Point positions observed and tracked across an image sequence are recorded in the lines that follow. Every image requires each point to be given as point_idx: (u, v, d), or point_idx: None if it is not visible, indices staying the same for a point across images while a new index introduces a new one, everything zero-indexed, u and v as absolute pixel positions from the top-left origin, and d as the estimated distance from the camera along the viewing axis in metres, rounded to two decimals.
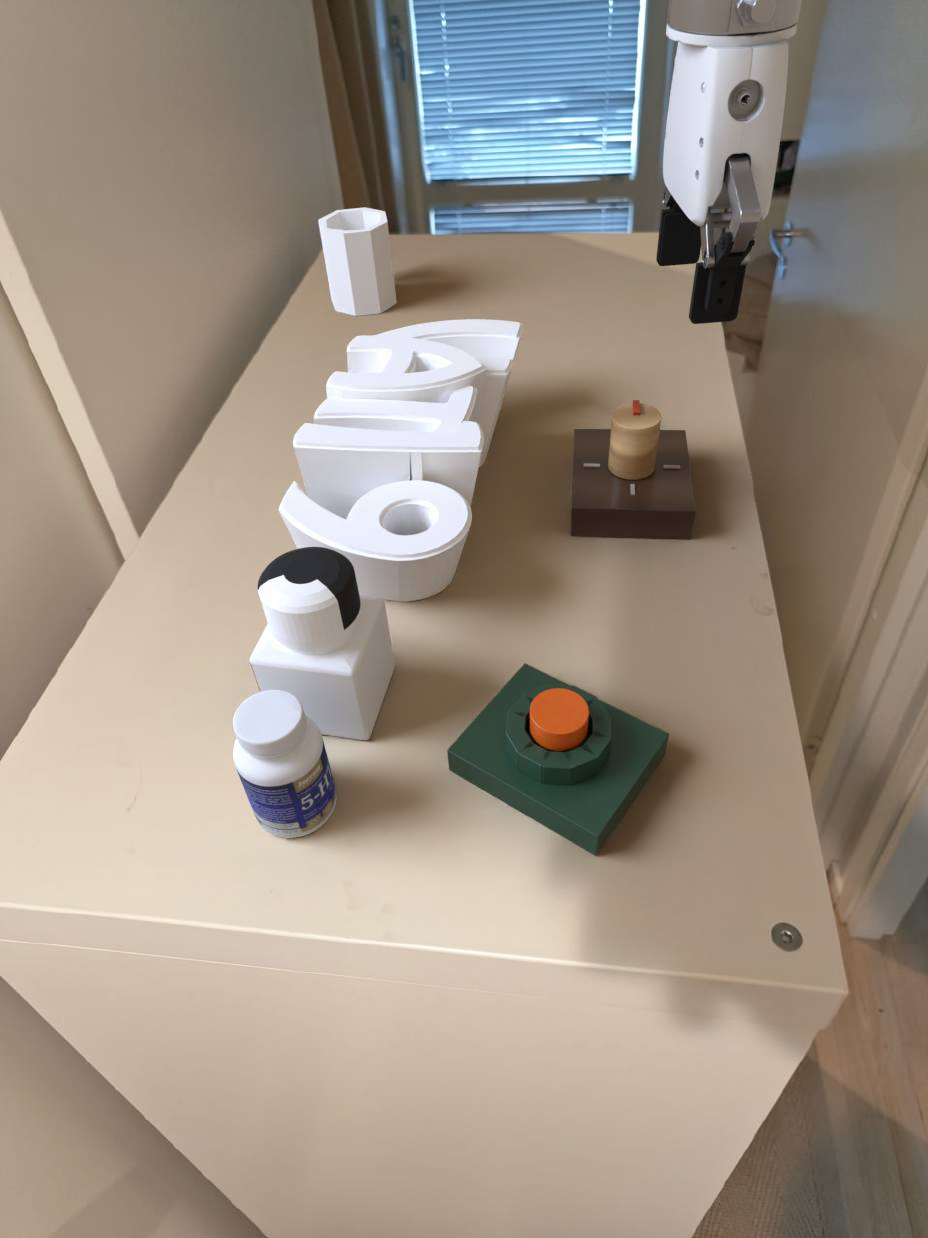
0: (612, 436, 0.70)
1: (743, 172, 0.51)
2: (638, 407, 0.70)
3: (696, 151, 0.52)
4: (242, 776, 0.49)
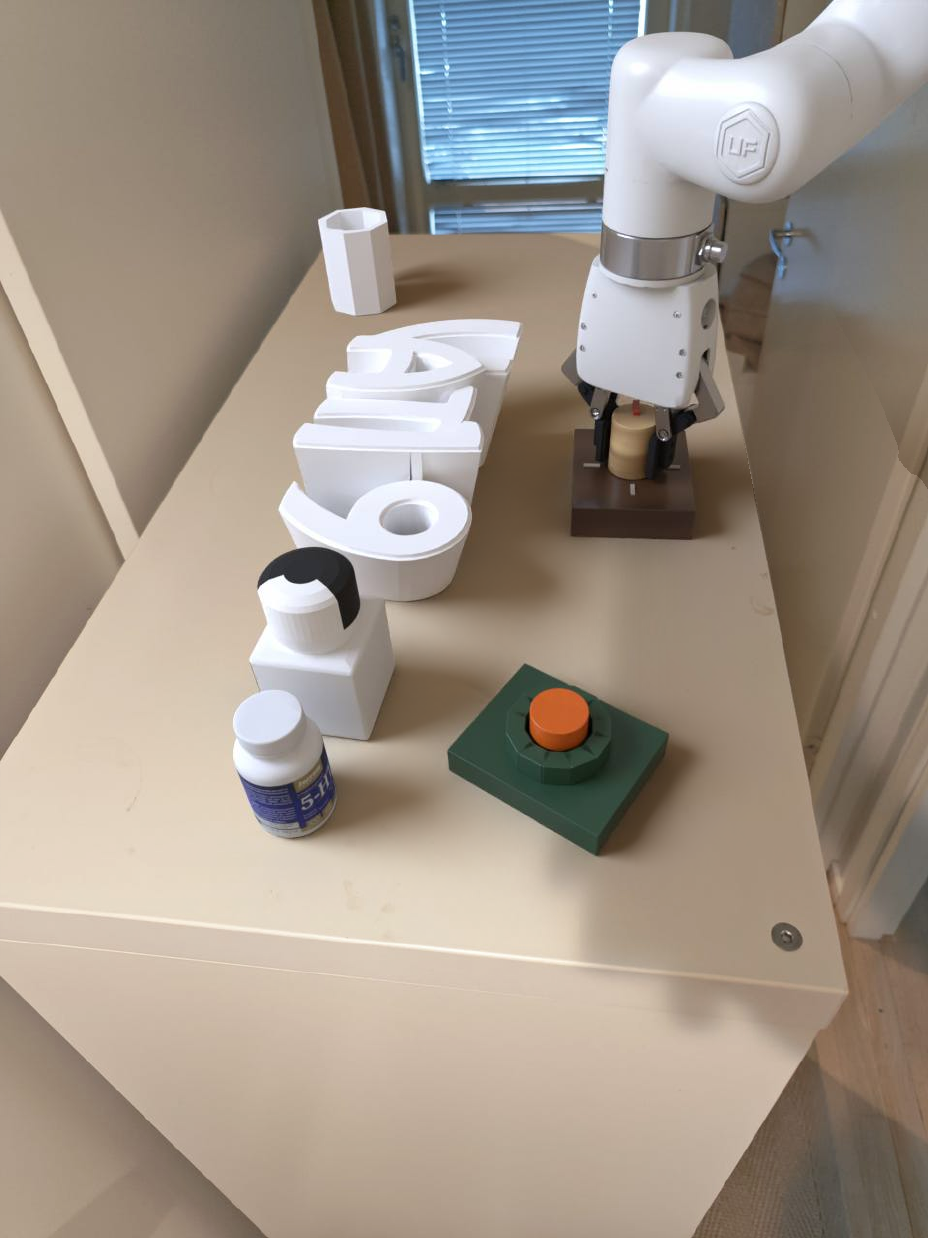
0: (612, 436, 0.70)
1: (707, 373, 0.64)
2: (638, 407, 0.70)
3: (674, 359, 0.62)
4: (242, 776, 0.49)
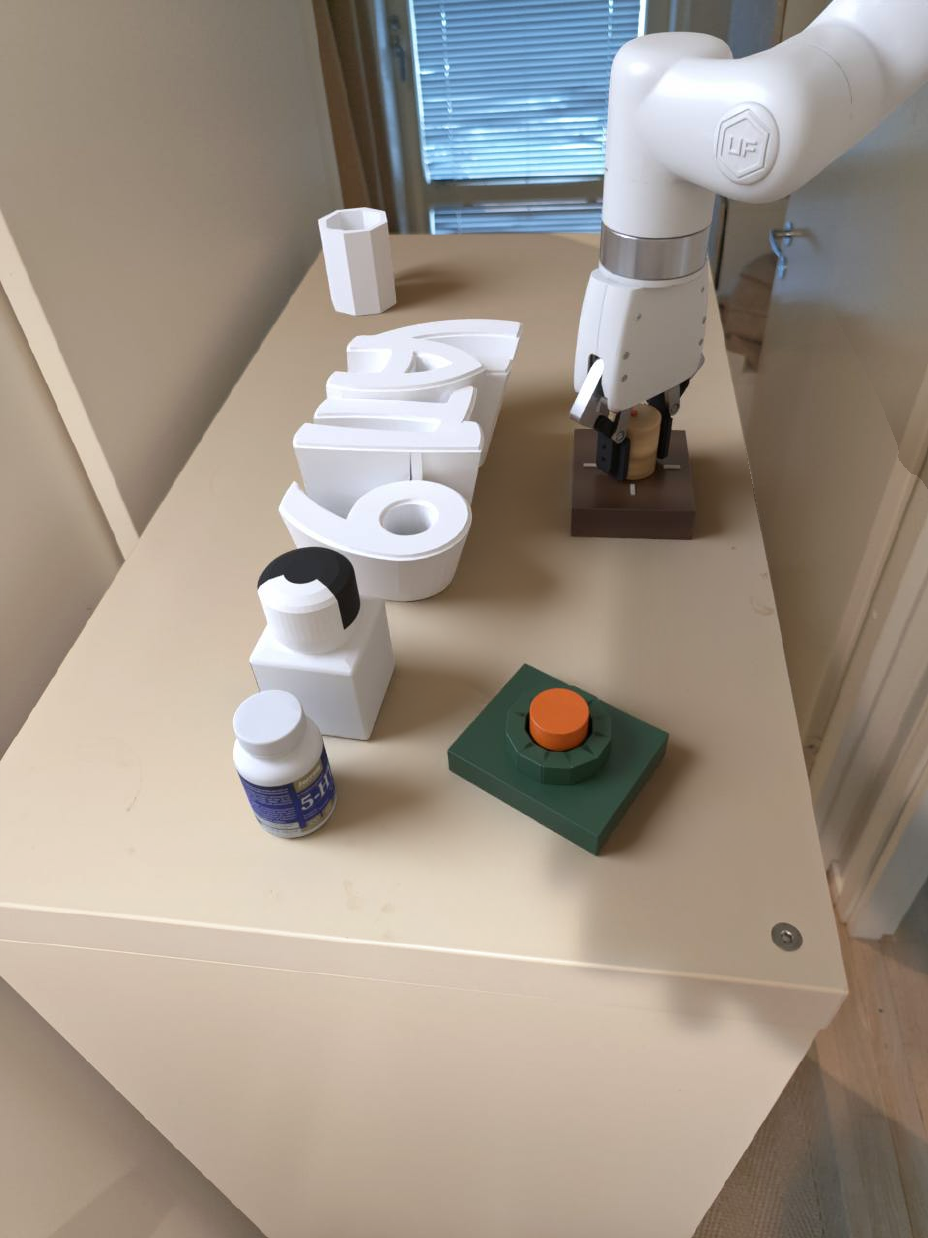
0: (637, 445, 0.69)
1: None
2: None
3: (698, 330, 0.65)
4: (242, 776, 0.49)
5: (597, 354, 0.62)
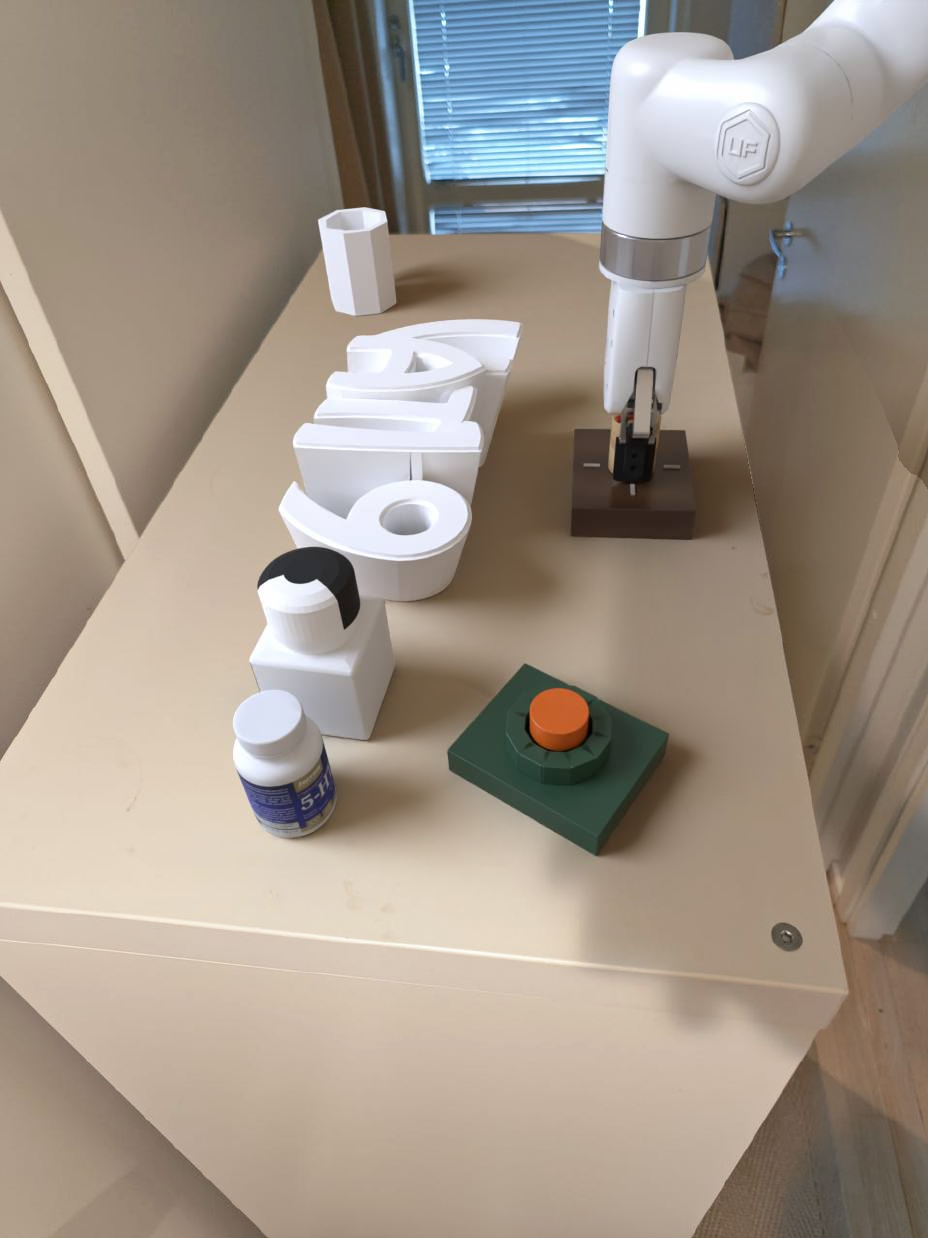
0: None
1: None
2: None
3: None
4: (242, 776, 0.49)
5: (648, 365, 0.61)
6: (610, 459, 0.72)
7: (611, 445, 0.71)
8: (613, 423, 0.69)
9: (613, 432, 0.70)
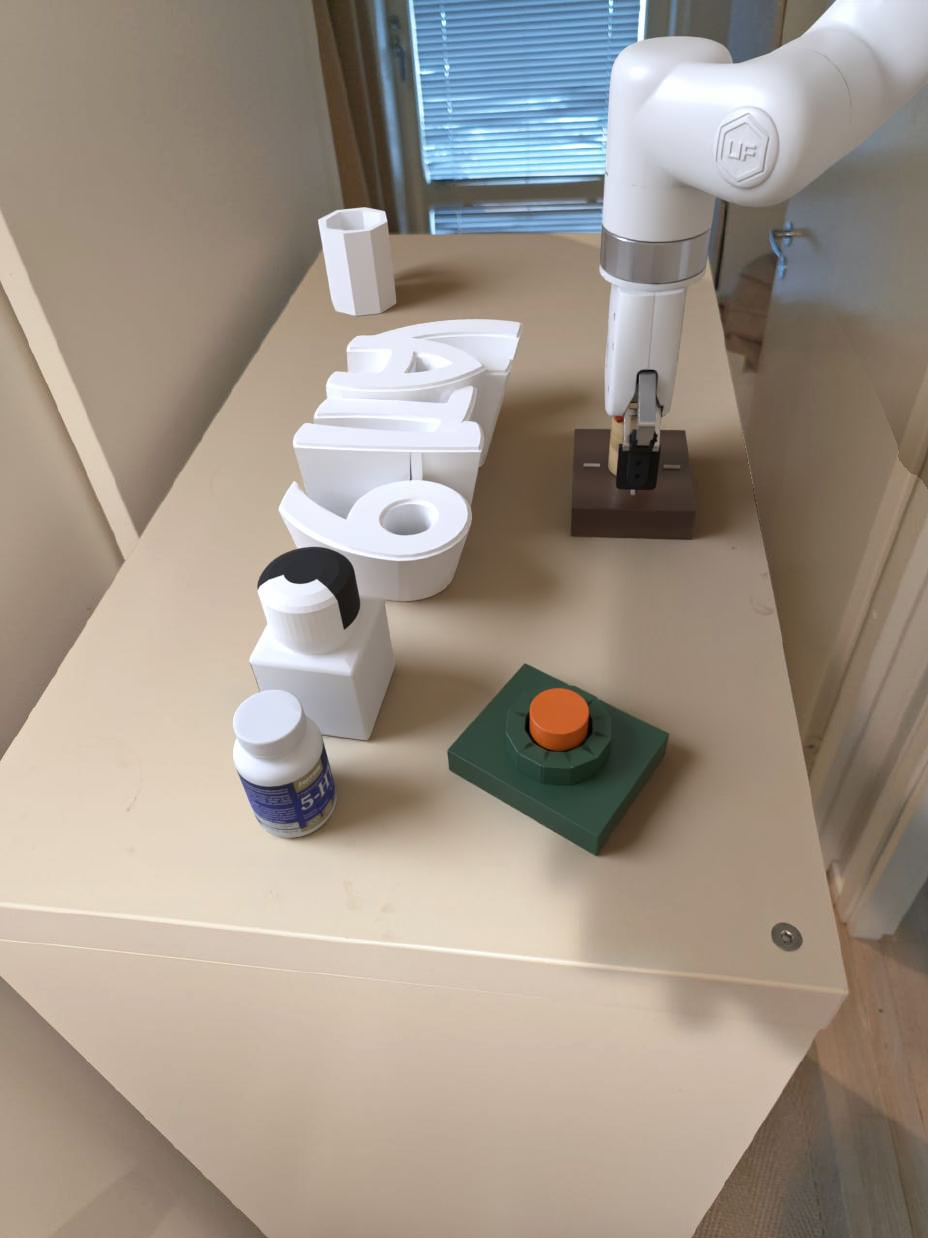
0: None
1: None
2: None
3: None
4: (242, 776, 0.49)
5: (649, 367, 0.61)
6: (610, 459, 0.72)
7: (611, 445, 0.71)
8: (613, 423, 0.70)
9: (613, 432, 0.70)
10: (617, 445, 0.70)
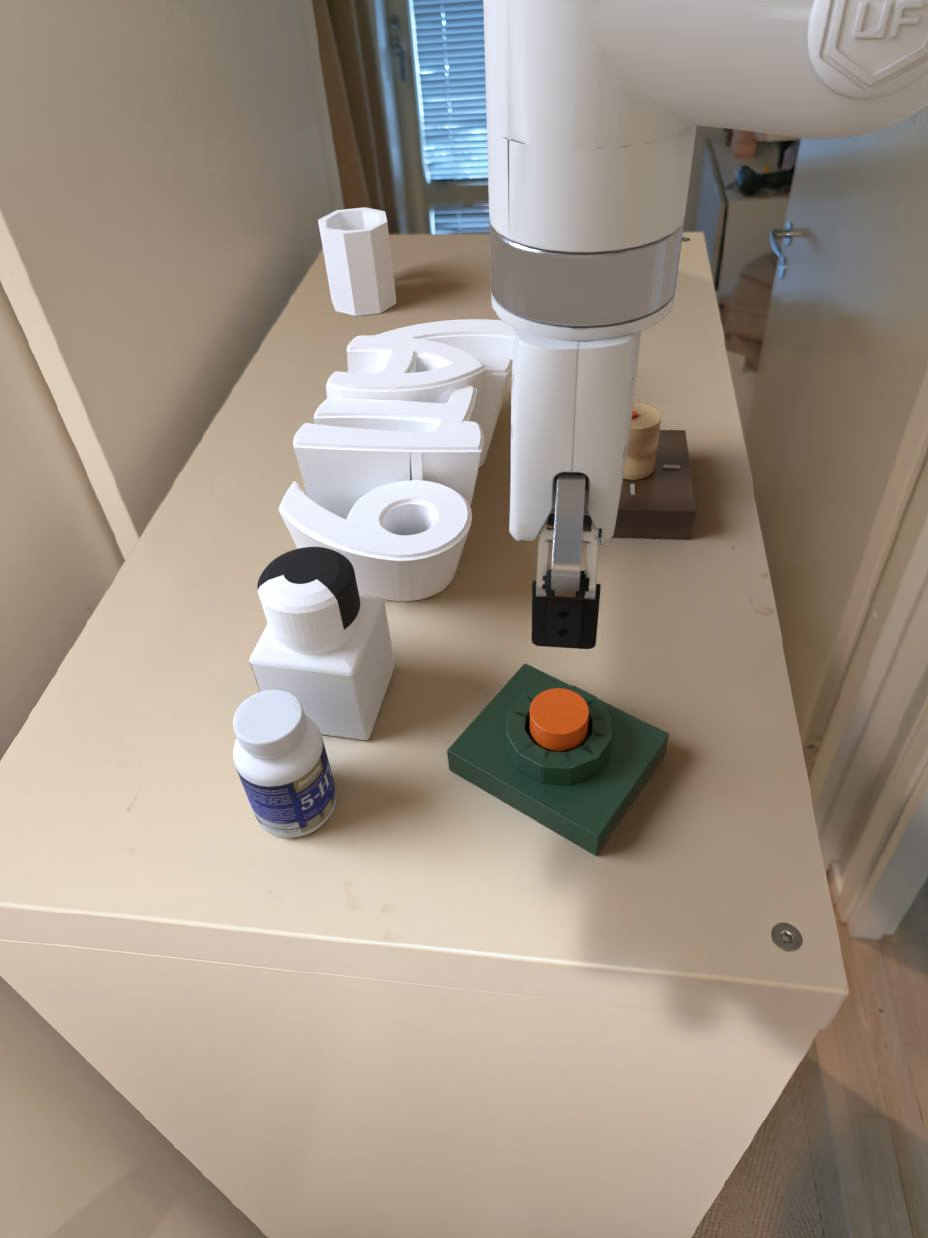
0: (653, 441, 0.70)
1: None
2: None
3: None
4: (242, 776, 0.49)
5: (574, 469, 0.35)
6: None
7: None
8: None
9: None
10: None
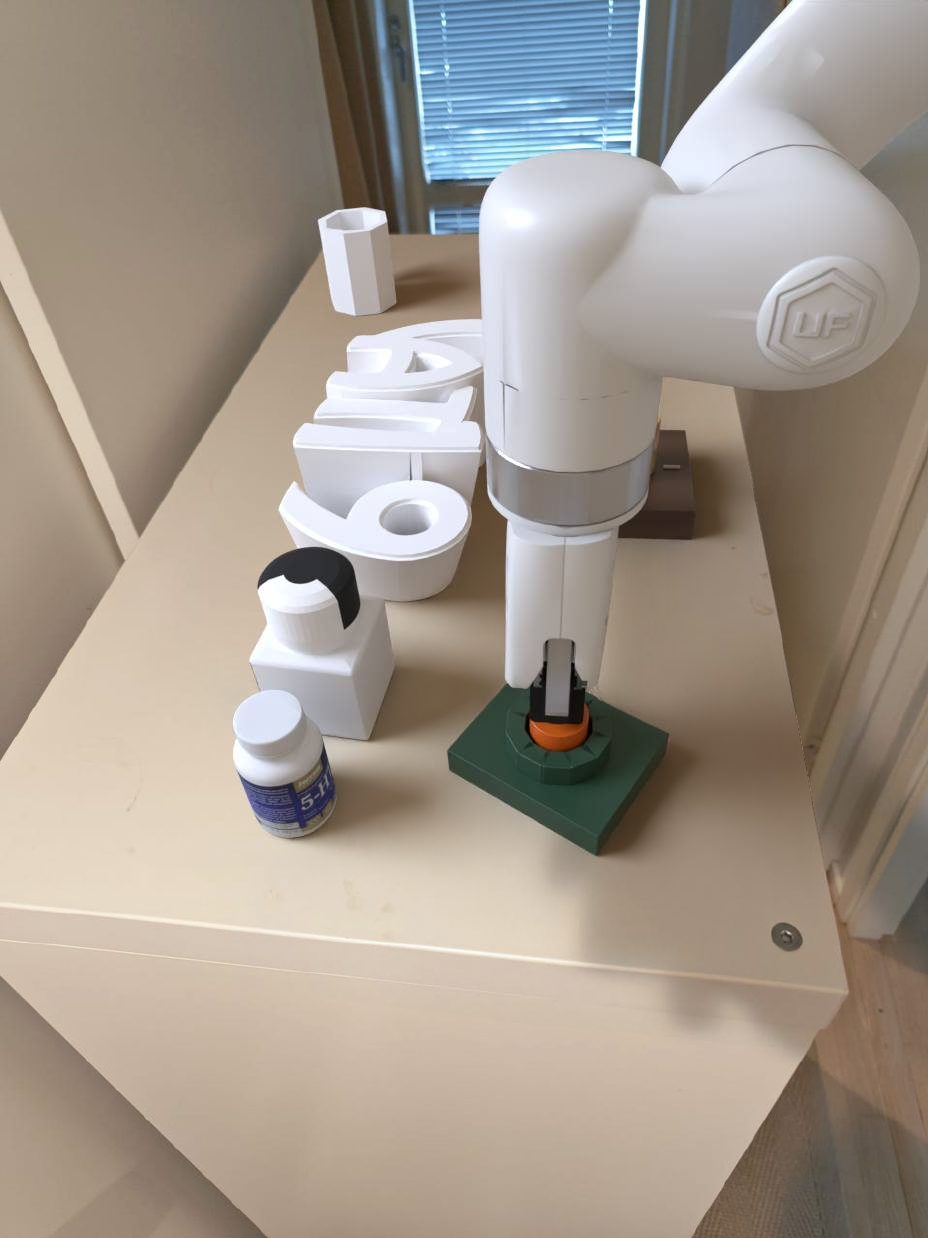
0: None
1: None
2: None
3: None
4: (242, 776, 0.49)
5: (562, 636, 0.40)
6: None
7: None
8: None
9: None
10: None
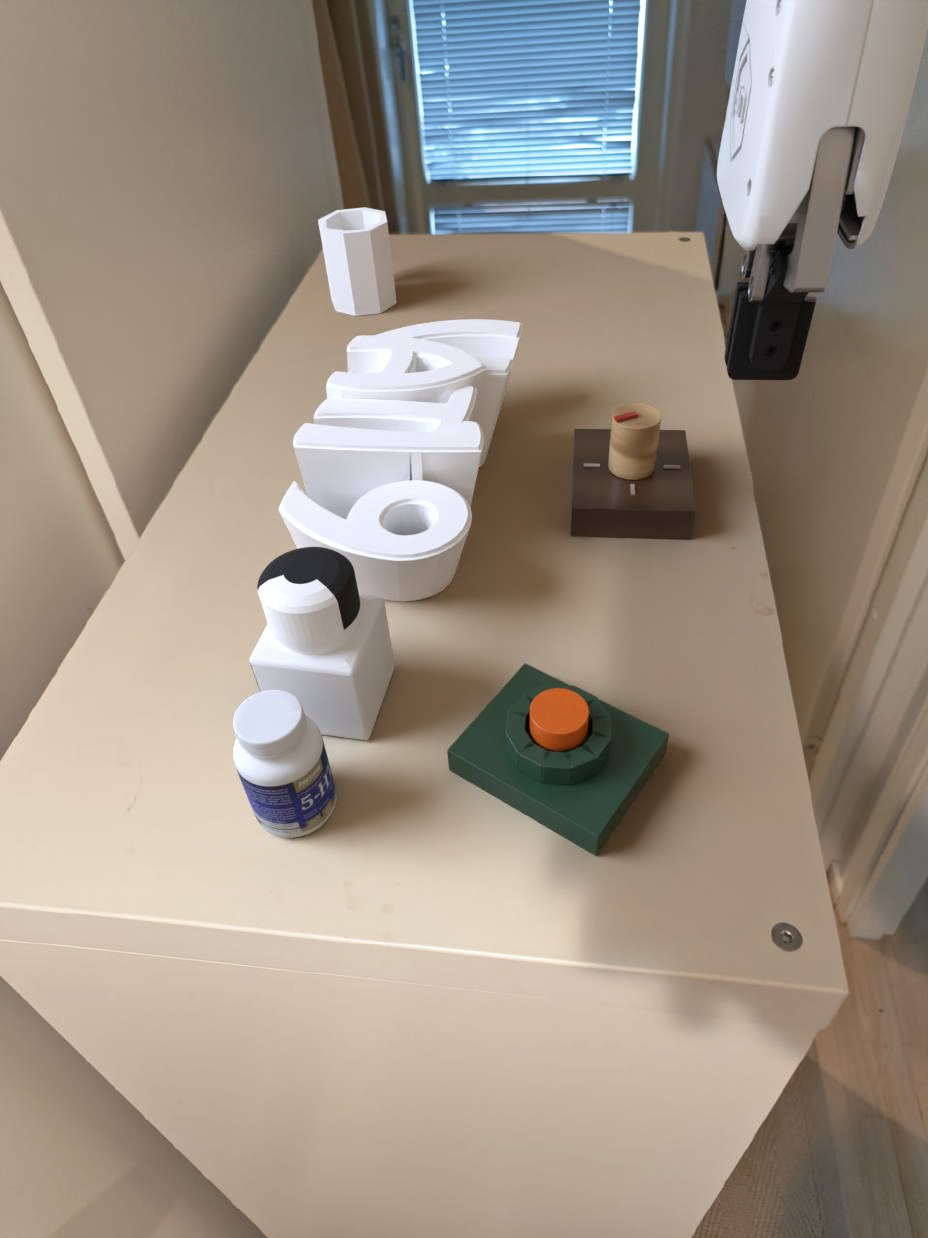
0: (653, 441, 0.70)
1: None
2: (628, 413, 0.69)
3: None
4: (242, 776, 0.49)
5: (850, 122, 0.28)
6: (610, 459, 0.72)
7: (611, 445, 0.71)
8: (613, 423, 0.70)
9: (613, 432, 0.70)
10: (617, 445, 0.70)
